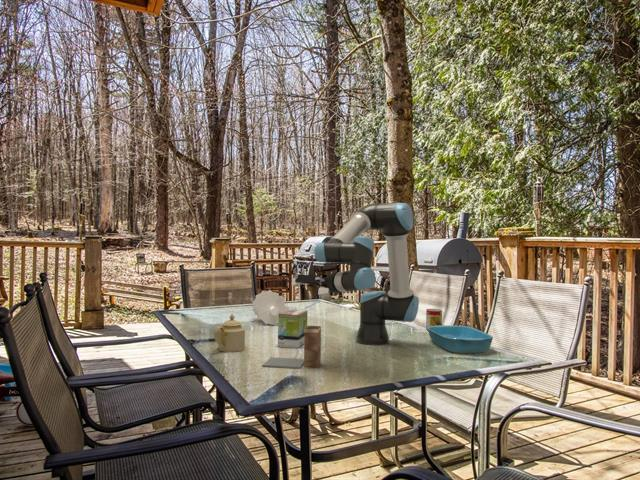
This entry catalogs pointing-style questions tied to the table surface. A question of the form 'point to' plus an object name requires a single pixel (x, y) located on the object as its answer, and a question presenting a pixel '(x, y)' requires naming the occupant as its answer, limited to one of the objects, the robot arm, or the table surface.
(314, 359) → the walnut block
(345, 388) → the table surface
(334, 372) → the table surface
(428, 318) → the canned food
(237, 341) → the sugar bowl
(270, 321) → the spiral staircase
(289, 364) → the mat
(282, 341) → the tea box
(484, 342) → the casserole dish
